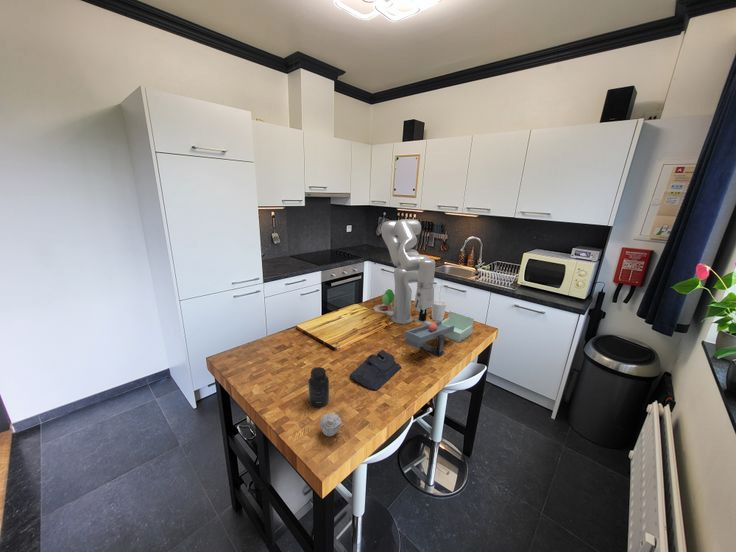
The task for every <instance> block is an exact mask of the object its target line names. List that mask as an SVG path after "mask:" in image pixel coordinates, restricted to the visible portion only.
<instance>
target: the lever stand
mask: <svg viewBox="0 0 736 552" xmlns="http://www.w3.org/2000/svg"><path fill="white" fill-rule="evenodd" d="M436 339H437V341H436V347H435V346H434V345H430V344H428V343H426V342H424V343H423V346H422V347H420V348H419V349H420V350H422V351H424V352H426V353H428V354H431V355H432V356H435V357H438V358H439V357H441V356H443V355H444V354H445V351H444V343H445V337H444V335H440V336H438V337H437V338H436Z"/></svg>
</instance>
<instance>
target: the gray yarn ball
mask: <svg viewBox="0 0 736 552" xmlns="http://www.w3.org/2000/svg"><path fill="white" fill-rule="evenodd" d="M341 425H342V419H341V418H340V416H339V414H338V413H337V414H335V413H326V414H324V415H322V417H321V418H320V422H319V427H320V429H321V431H322V433H323V434H324V435H325V436H327V437H333V436H335V434H337V433H338V430H339V429H340V427H341Z"/></svg>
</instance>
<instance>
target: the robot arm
mask: <svg viewBox="0 0 736 552" xmlns="http://www.w3.org/2000/svg"><path fill="white" fill-rule="evenodd" d="M380 231H381V237H382V240H383V242H384V243H385V245H386V247H387V249H388V251H389V256H390V258H391V261H392V264H393V265H394V267H396V268H395V269H394V270H393V278H394V280H393V281H394V300H393V306H394V307H393V309H392V310H393V311H388V310H385V311H386V313H385V314H386V316H390V317H389V318H390V320H391V322H393V323H395V324H400V325H407V324H410V323H413V317H412V316H411V310H412V309H411V308H412V298H413V297H412V293H413V291H412V288H411V286H410V285H409V284H412V283H413V284H414V283H416V284H417V285H416V287H417V288H416V292H415V298H414V308H415V312H417V313H418V318H419V320H421V321H426V320H427V314H428V311H429V308H432V306H433V304H434V300H435V289H434V284H435V283H434V282H435V272H436V261H435V259H433V258H430V257H429V256H428V255H426V254H420V253H419V252H418V251H417V250H416V249H412V248H414V247H415V246H416V245H417V244H418V238H417V236H418V235H419V234H421V232H422V225H421V223H420V221H419V220H418V219H406V218H405V219H404V218H403V219H399V220H388V221H385V222H383V223H382V225H381V230H380Z"/></svg>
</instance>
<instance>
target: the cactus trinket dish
mask: <svg viewBox="0 0 736 552" xmlns="http://www.w3.org/2000/svg"><path fill="white" fill-rule="evenodd" d="M394 295H395V292H394V290H392V289H387V290H386V291H385V292H384V294H383V295H382V298H381V300H382V303H381V304H376V305H374V307H373V311H375V312H376V313H382V314H384V313H385V314H386V311H393V310H394V309H393V308H394V305H393V303H394Z"/></svg>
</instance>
